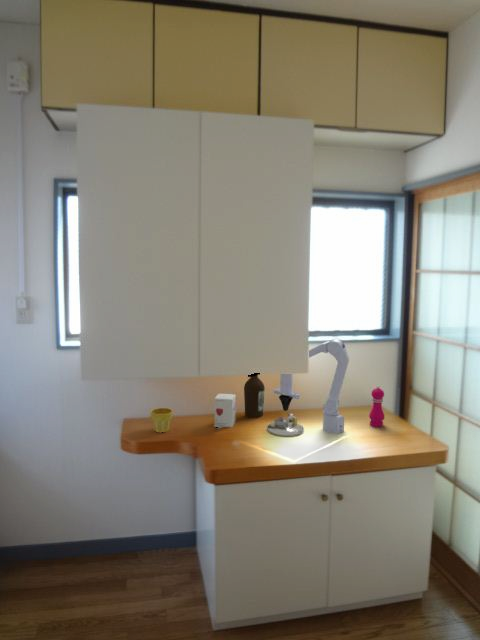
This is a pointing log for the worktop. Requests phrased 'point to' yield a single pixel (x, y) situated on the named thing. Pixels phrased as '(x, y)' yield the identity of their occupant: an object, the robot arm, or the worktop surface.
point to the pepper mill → (377, 408)
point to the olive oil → (254, 397)
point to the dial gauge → (290, 417)
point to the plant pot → (161, 419)
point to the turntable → (286, 429)
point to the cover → (281, 422)
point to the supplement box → (224, 410)
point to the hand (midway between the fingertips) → (285, 410)
